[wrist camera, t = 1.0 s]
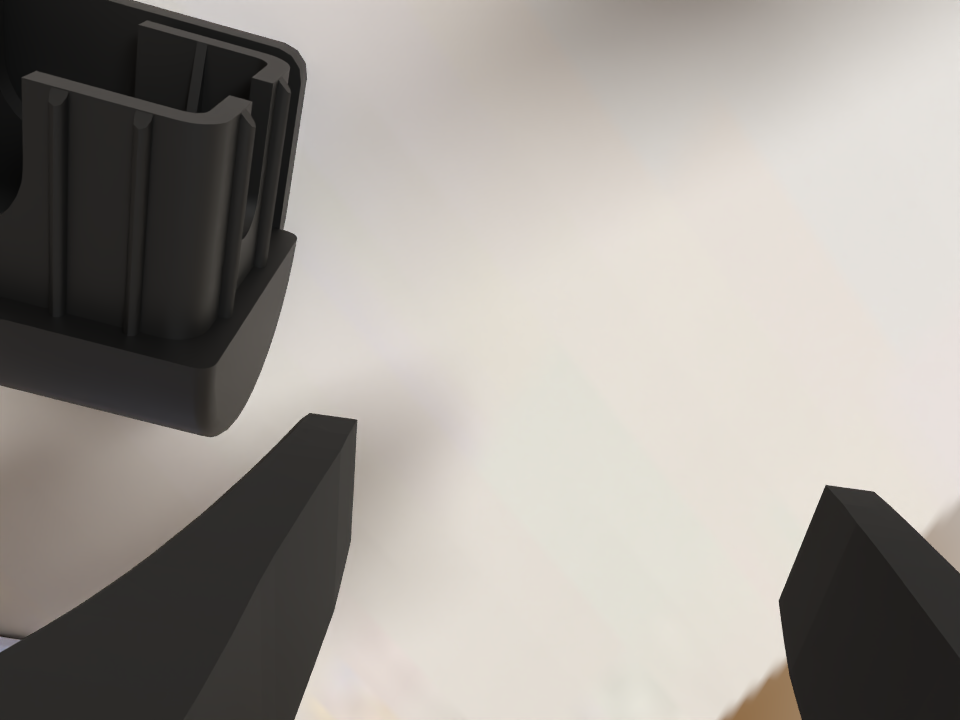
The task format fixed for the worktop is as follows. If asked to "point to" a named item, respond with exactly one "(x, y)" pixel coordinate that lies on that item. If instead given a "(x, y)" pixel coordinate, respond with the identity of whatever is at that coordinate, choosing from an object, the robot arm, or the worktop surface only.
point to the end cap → (142, 207)
